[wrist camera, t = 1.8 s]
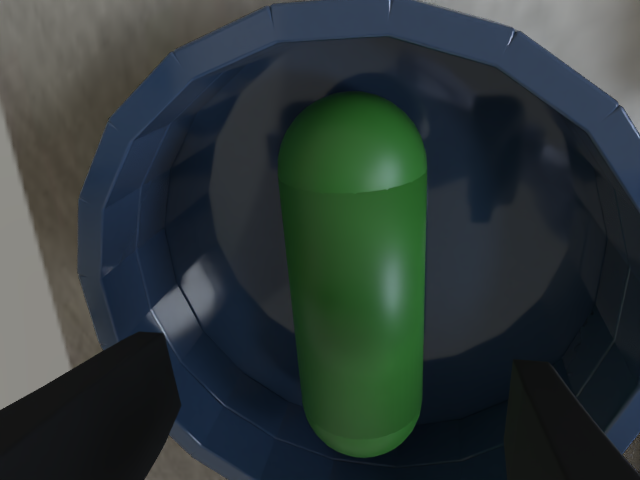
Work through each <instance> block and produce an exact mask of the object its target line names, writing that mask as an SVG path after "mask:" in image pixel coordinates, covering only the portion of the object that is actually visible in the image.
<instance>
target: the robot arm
mask: <svg viewBox="0 0 640 480" xmlns="http://www.w3.org/2000/svg"><path fill="white" fill-rule="evenodd" d="M180 408H181V401H180V397H179V393H178V389H177V385H176V381H175V377H174V372H173V368H172V364H171V360H170V356H169V352H168V348H167V344H166V339H165V335H164V333H155V332H142V331H139V332H137V333H135V334H133V335H131V336H129V337H127V338H125V339H123V340H121V341H120V342H118V343H116V344H114V345H112V346H111V347H109V348H107V349H106V350H104V351H102V352H100V353H99V354H97V355H95V356H94V357H92V358H90V359H89V360H87V361H85V362H84V363H82V364H80V365H79V366H77V367H75V368H73V369H72V370H70V371H68V372H67V373H65V374H63V375H62V376H60V377H58V378H57V379H55V380H53V381H52V382H50V383H48V384H47V385H45V386H43V387H41V388H39V389H38V390H36V391H34V392H33V393H30V394H29V395H27V396H25V397H23V398H21V399H20V400H18V401H16V402H14V403H12V404H10V405H9V406H7V407H5V408H3V409H2V410H0V480H144V479H145V477H146V476H147V474H148V472H149V471H150V469H151V467H152V466H153V464H154V462H155V461H156V459H157V457H158V455H159V454H160V452H161V450H162V449H163V446H164V444H165V442H166V440H167V438H168V436H169V433H170V431H171V429H172V427H173V424H174V422H175V420H176V417H177V415H178V412H179V410H180ZM504 449H505V461H506V471H507V480H640V474H639V473H638V472H637V471H636V470H635V469H634V468H633V466H632V465H631V464H630V463H629V462H628V461H627V460H626V458H625V457H624V456H623V455H622V454H621V452H620V451H619V450H618V449H617V448H616V447H615V445H614V444H613V443H612V442H611V441H610V439H609V438H608V437H607V436H606V435H605V434H604V432H603V431H602V430H601V429H600V427H599V426H598V425H597V424H596V422H595V421H594V420H593V419H592V417H591V416H590V415H589V414H588V412H587V411H586V410H585V409H584V407H583V406H582V405H581V403H580V402H579V401H578V400H577V398H576V397H575V396H574V394H573V393H572V392H571V390H570V389H569V388H568V386H567V385H566V384H565V382H564V381H563V379H562V378H561V377H560V375H559V374H558V373H557V371H556V370H555V369H554V367H553V366H552V365H551V364H550V363H549V362H545V361H532V360H518V359H513V364H512V372H511V381H510V390H509V398H508V407H507V416H506V424H505V433H504Z"/></svg>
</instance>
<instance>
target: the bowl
mask: <svg viewBox="0 0 640 480" xmlns="http://www.w3.org/2000/svg"><path fill="white" fill-rule="evenodd" d="M345 91H361V92H366V93H371V94H375V95H378V96H380V97H382V98H385V99H387V100H389V101H391V102H392V103H393V104H395V105H396V106H397V107H399V108H400V109H401V110H403V111H404V112H405V113H406V114H407V115H408V117H409V118H410V119H411V120H412V121H413V122H414V124H415V126H416V128H417V130H418V131H419V133H420V135H421V138H422V141H423V145H424V148H425V151H426V159H427V205H426V251H425V298H424V345H423V391H422V404H421V410H420V415H419V418H418V420H417V422H416V424H415V426H414V429H413V431H412V432H411V433H410V435H409V436H408V437H407V438H406V439H405V440H404V441H403V442H402V443H401V444H400V445H399V446H398V447H396V448H395V449H393V450H391V451H389V452H387V453H385V454H382V455H379V456H375V457H368V458H359V457H352V456H348V455H345V454H342V453H340V452H337V451H335V450H334V449H332V448H330V447H329V446H327V445H326V444H325V443H324V442H323V441H322V440H321V439H320V438H319V437H318V436H317V435H316V434H315V432H314V431H313V429H312V428H311V426H310V424H309V422H308V420H307V417H306V415H305V412H304V407H303V403H302V394H301V385H300V376H299V367H298V357H297V348H296V339H295V330H294V321H293V311H292V302H291V293H290V284H289V275H288V266H287V256H286V247H285V238H284V229H283V220H282V210H281V201H280V192H279V183H278V155H279V150H280V145H281V143H282V140H283V138H284V135H285V133H286V131H287V129H288V128H289V126H290V125H291V124H292V122H293V121H294V119H295V118H296V117H297V116H298V115H299V114H300V113H301V112H302V111H303V110H304V109H305V108H306V107H307V106H309V105H311V104H312V103H314V102H315V101H317V100H319V99H320V98H323V97H326V96H329V95H331V94H334V93H338V92H345ZM79 197H80V198H79V199H78V255H77V273H78V274H79V275H78V277H79V281H80V284H81V287H82V290H83V293H84V297H85V300H86V303H87V306H88V310H89V313H90V316H91V319H92V322H93V326H94V329H95V332H96V335H97V339H98V342H99V343H100V344H101V348H102V349H103V351H104V350H106V349H107V348H109V347H111V346H112V345H114V344H116V343H118V342H120V341H121V340H123V339H125V338H127V337H129V336H131V335H133V334H135V333H137V332H139V331H142V332H155V333H164V335H165V339H166V344H167V348H168V352H169V356H170V360H171V364H172V368H173V372H174V377H175V381H176V385H177V389H178V393H179V397H180V401H181V408H180V410H179V412H178V415H177V417H176V420H175V422H174V424H173V427H172V429H171V431H170V433H169V436H170V437H172V438H173V439H174V440H175V441H176V442H177V443H178V444H179V445H180V446H181V447H182V448H183V449H184V450H185V451H186V452H187V453H188V454H190V455H191V457H193V458H194V459H196V460H197V461H199V462H201V463H202V464H204V465H205V466H207V467H209V468H210V469H212V470H213V471H215V472H217V473H218V474H220V475H221V476H223V477H225V478H226V479H228V480H507V471H506V461H505V449H504V433H505V424H506V416H507V407H508V398H509V390H510V381H511V372H512V364H513V359H518V360H532V361H545V362H549V363H550V364H551V365H552V366H553V367H554V369H555V370H556V371H557V373H558V374H559V375H560V377H561V378H562V379H563V381H564V382H565V384H566V385H567V386H568V388H569V389H570V390H571V392H572V393H573V394H574V396H575V397H576V398H577V400H578V401H579V402H580V403H581V405H582V406H583V407H584V409H585V410H586V411H587V412H588V414H589V415H590V416H591V417H592V419H593V420H594V421H595V422H596V424H597V425H598V426H599V427H600V429H601V430H602V431H603V432H604V434H605V435H606V436H607V437H608V438H609V439H610V441H611V442H612V443H613V444H614V445H615V447H616V448H617V449H618V450H619V451H620V452H621V454H623V453H624V452H625V451H626V449H627V448H628V447H629V446H630V444H631V443H632V442H633V440H634V439H635V438H636V437H637V435H638V434H639V433H640V134H639V132H638V130H637V129H636V127H635V126H634V124H633V122H632V121H631V119H630V118H629V116H628V114H627V113H626V111H625V110H624V108H623V107H622V106H620V105H619V104H618V102H617V101H616V100H615V99H614V98H612V97H611V96H610V95H608V94H607V93H605V92H604V91H603V90H601V89H600V88H598V87H597V86H596V85H594V84H593V83H592V82H590V81H589V80H587V79H586V78H585V77H583V76H582V75H581V74H579V73H578V72H576V71H575V70H574V69H572V68H571V67H570V66H568V65H567V64H565V63H564V62H563V61H561V60H560V59H559V58H557V57H556V56H554V55H553V54H552V53H550V52H549V51H547V50H546V49H545V48H543V47H542V46H541V45H539V44H538V43H536V42H535V41H534V40H532V39H531V38H530V37H528V36H527V35H525V34H524V33H523V32H521V31H519V30H516V29H514V28H513V27H510V26H507V25H504V24H501V23H498V22H495V21H492V20H488V19H485V18H481V17H477V16H474V15H470V14H467V13H463V12H459V11H456V10H452V9H448V8H445V7H441V6H438V5H434V4H430V3H427V2H423V1H420V0H311V1H299V2H287V3H274V4H272V5H271V6H264V7H262V8H260V9H258V10H256V11H254V12H252V13H250V14H248V15H245V16H243V17H241V18H239V19H237V20H235V21H233V22H231V23H229V24H227V25H224V26H222V27H220V28H218V29H216V30H214V31H212V32H210V33H208V34H206V35H203V36H201V37H199V38H197V39H195V40H193V41H191V42H189V43H187V44H185V45H183V46H180V47H178V48H176V49H175V50H174V51H172V52H170V53H169V54H168V55H167V56H166V57H165V58H164V59H163V60H162V61H161V62H160V64H159V65H158V66H157V67H156V68H155V69H154V70H153V71H152V72H151V73H150V74H149V75H148V77H147V78H146V79H145V80H144V81H143V82H142V83H141V84H140V85H139V86H138V87H137V88H136V90H135V91H134V92H133V93H132V94H131V95H130V96H129V97H128V98H127V99H126V100H125V101H124V103H123V104H122V105H121V106H120V107H119V108H118V109H117V110H116V111H115V112H114V113H113V114H112V116H111V117H110V118H109V121H108V122H107V124H106V127H105V129H104V132H103V134H102V137H101V140H100V142H99V145H98V148H97V150H96V153H95V155H94V158H93V161H92V163H91V166H90V168H89V171H88V174H87V176H86V179H85V182H84V184H83V187H82V189H81V192H80V195H79Z"/></svg>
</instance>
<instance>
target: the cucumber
mask: <svg viewBox="0 0 640 480" xmlns="http://www.w3.org/2000/svg"><path fill="white" fill-rule="evenodd" d="M278 183H279V192H280V201H281V210H282V220H283V229H284V238H285V247H286V256H287V266H288V275H289V284H290V293H291V302H292V311H293V321H294V330H295V339H296V348H297V357H298V367H299V376H300V385H301V394H302V403H303V407H304V412H305V415H306V417H307V420H308V422H309V424H310V426H311V428H312V429H313V431H314V432H315V434H316V435H317V436H318V437H319V438H320V439H321V440H322V441H323V442H324V443H325V444H326V445H327V446H329V447H330V448H332V449H334V450H335V451H337V452H340V453H342V454H345V455H348V456H352V457H359V458H368V457H375V456H379V455H382V454H385V453H387V452H389V451H391V450H393V449H395V448H396V447H398V446H399V445H400V444H401V443H402V442H403V441H404V440H405V439H406V438H407V437H408V436H409V435H410V433H411V432H412V431H413V429H414V426H415V424H416V422H417V420H418V418H419V415H420V410H421V404H422V391H423V345H424V298H425V251H426V205H427V159H426V151H425V148H424V145H423V141H422V138H421V135H420V133H419V131H418V130H417V128H416V126H415V124H414V122H413V121H412V120H411V119H410V118H409V117H408V115H407V114H406V113H405V112H404V111H403V110H401V109H400V108H399V107H397V106H396V105H395V104H393V103H392V102H391V101H389V100H387V99H385V98H382V97H380V96H378V95H375V94H371V93H366V92H361V91H345V92H338V93H334V94H331V95H329V96H326V97H323V98H320V99H319V100H317V101H315V102H314V103H312V104H311V105H309V106H307V107H306V108H305V109H304V110H303V111H302V112H301V113H300V114H299V115H298V116H297V117H296V118H295V119H294V121H293V122H292V124H291V125H290V126H289V128H288V129H287V131H286V133H285V135H284V138H283V140H282V143H281V145H280V150H279V155H278Z"/></svg>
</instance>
